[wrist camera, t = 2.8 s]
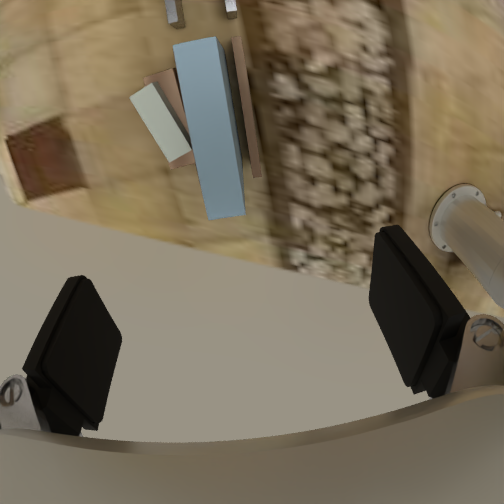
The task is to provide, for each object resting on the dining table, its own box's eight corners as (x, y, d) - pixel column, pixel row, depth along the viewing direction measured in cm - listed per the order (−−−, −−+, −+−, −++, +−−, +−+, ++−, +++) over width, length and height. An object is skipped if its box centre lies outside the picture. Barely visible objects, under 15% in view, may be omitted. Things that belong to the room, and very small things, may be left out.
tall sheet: (224, 50, 31) (215, 36, 17) (241, 158, 38) (245, 214, 25) (199, 55, 31) (172, 45, 17) (218, 162, 38) (208, 220, 25)
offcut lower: (176, 68, 32) (172, 68, 30) (200, 156, 38) (198, 162, 36) (148, 77, 32) (142, 77, 30) (174, 163, 38) (170, 169, 36)
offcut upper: (157, 81, 30) (151, 82, 28) (194, 144, 35) (192, 149, 33) (136, 95, 31) (129, 97, 29) (173, 156, 36) (169, 162, 33)
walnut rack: (240, 40, 30) (240, 35, 26) (258, 163, 39) (261, 176, 34) (180, 51, 30) (172, 48, 26) (204, 172, 39) (200, 186, 35)
